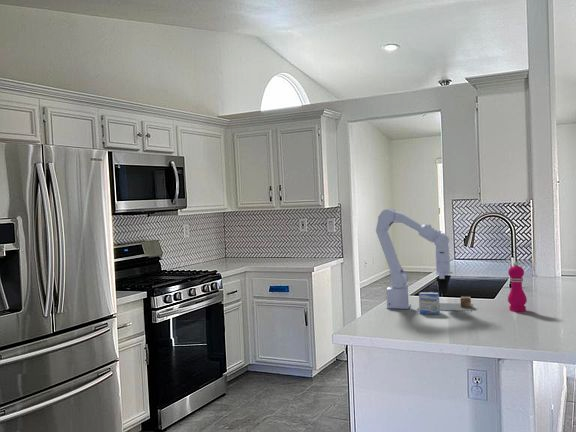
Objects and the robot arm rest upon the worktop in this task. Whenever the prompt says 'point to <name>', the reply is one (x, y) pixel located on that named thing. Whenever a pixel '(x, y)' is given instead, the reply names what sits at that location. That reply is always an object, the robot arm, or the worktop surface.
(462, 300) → the walnut block
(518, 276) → the pepper mill
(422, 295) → the medicine box
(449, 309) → the mat
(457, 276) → the worktop surface
